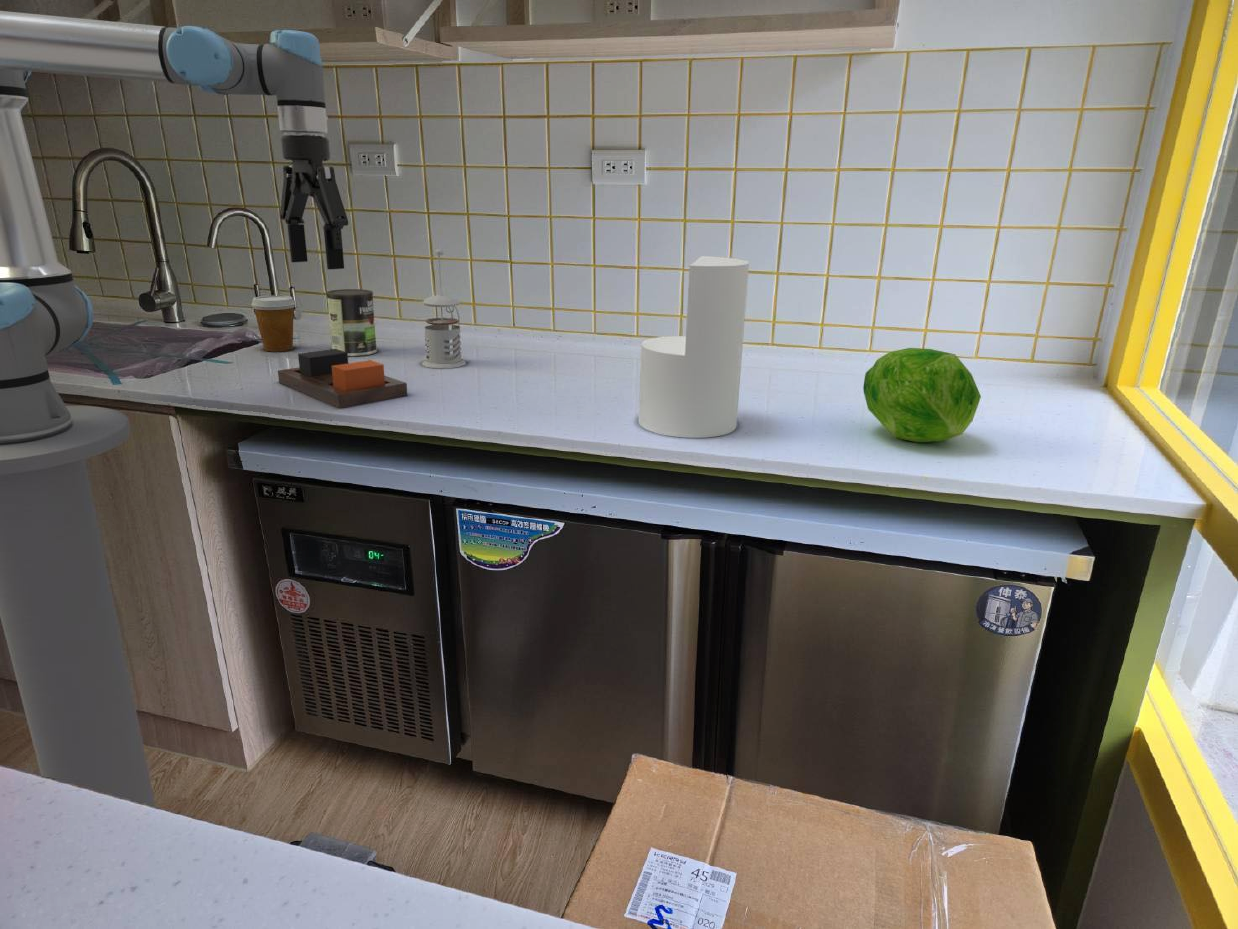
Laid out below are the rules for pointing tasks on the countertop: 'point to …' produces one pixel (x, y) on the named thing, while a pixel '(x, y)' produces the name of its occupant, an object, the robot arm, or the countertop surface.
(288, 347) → the disposable coffee cup
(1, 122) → the robot arm
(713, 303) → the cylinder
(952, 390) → the lettuce
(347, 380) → the orange block
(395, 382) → the brown wooden slotted tray
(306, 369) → the black rectangular block
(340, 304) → the coffee can
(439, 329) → the french press
